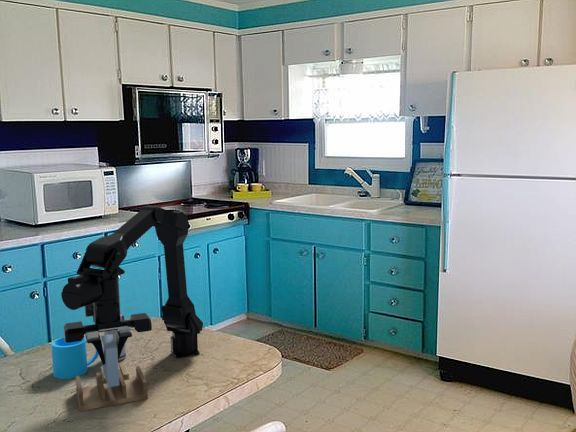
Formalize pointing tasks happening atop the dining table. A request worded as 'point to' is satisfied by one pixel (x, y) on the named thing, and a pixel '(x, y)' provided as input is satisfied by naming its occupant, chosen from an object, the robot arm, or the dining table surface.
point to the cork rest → (122, 369)
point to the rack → (111, 392)
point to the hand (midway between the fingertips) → (110, 362)
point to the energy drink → (113, 332)
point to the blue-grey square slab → (110, 360)
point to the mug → (70, 358)
